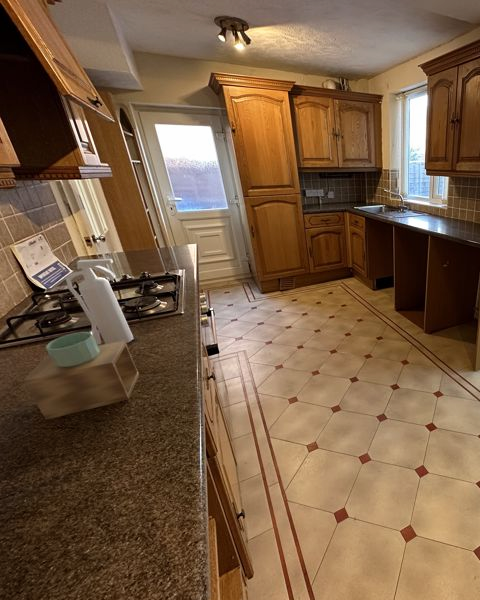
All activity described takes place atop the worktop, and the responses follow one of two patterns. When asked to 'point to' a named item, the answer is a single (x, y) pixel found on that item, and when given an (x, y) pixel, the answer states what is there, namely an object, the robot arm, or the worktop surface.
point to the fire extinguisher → (100, 302)
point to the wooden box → (83, 382)
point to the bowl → (73, 349)
